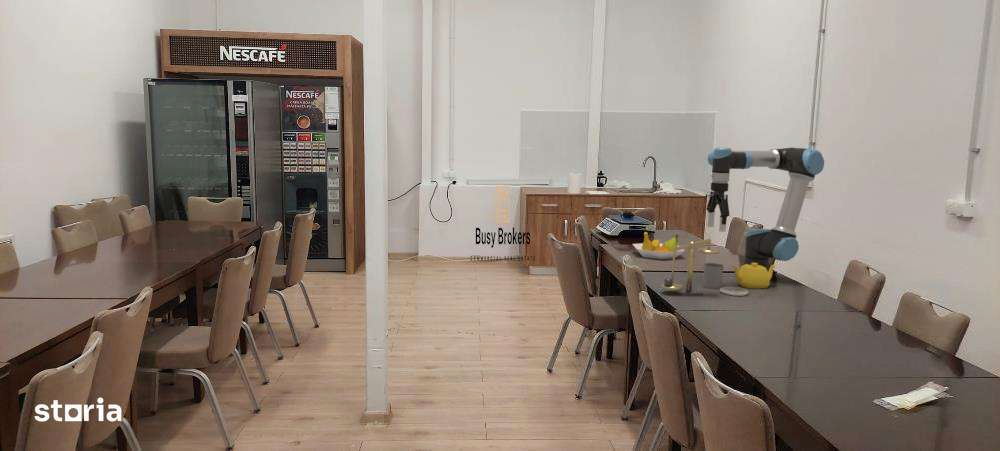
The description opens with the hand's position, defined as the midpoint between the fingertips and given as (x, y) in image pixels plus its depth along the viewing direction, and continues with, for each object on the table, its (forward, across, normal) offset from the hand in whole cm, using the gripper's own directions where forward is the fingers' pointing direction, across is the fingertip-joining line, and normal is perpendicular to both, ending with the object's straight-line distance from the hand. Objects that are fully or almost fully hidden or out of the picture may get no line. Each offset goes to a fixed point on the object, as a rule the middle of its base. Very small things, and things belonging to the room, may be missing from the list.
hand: (716, 229), depth 319 cm
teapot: (+27, -3, +20) cm, 34 cm away
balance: (+26, +13, -16) cm, 34 cm away
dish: (+26, +12, +5) cm, 30 cm away
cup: (+27, 0, 0) cm, 27 cm away
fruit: (+27, -70, -3) cm, 75 cm away
